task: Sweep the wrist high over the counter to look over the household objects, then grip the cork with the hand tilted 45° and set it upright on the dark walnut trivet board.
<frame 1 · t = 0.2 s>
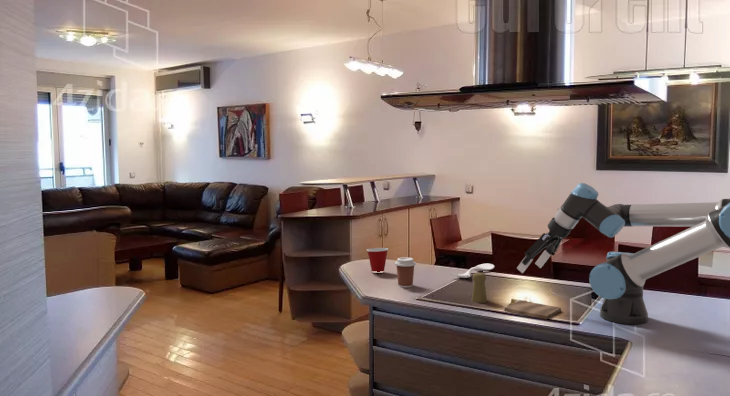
hand: (529, 268, 198), 16 cm above the counter, tool tilted 35°, fingers open, 13 cm apart
plastic cup: (377, 273, 266), on the counter
coffee cup: (405, 286, 240), on the counter
cork: (479, 301, 214), on the counter
spoon: (474, 274, 261), on the counter
walnut trivet: (532, 310, 200), on the counter
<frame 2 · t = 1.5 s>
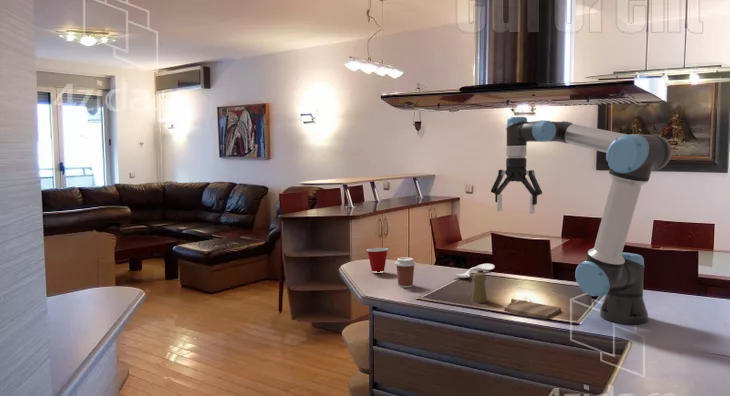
hand: (515, 212, 212), 35 cm above the counter, tool pointing down, fingers open, 13 cm apart
nothing on the counter moved.
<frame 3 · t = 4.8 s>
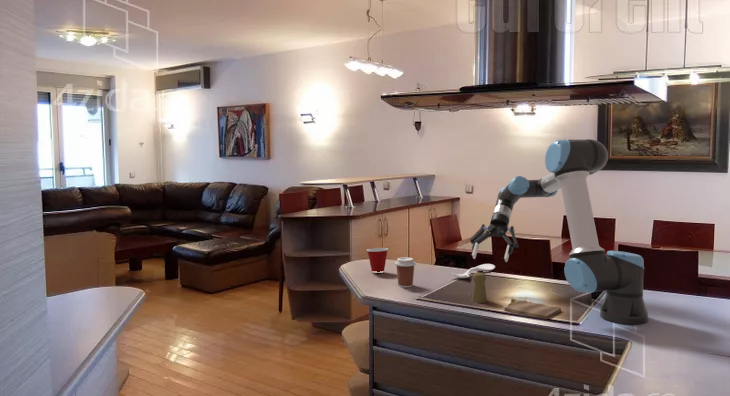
hand: (489, 258, 223), 15 cm above the counter, tool tilted 45°, fingers open, 13 cm apart
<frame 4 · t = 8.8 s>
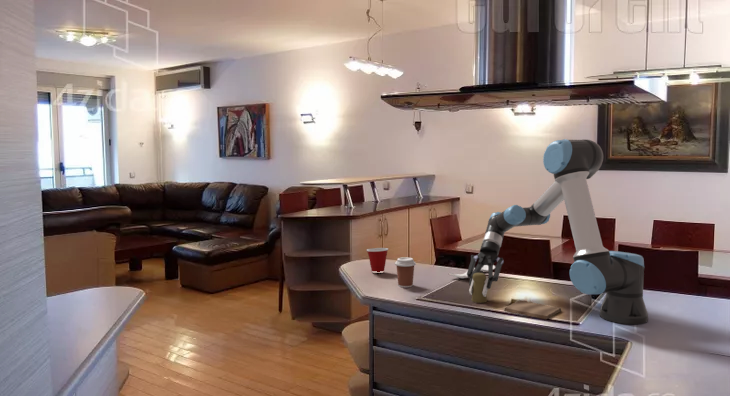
hand: (477, 293, 212), 3 cm above the counter, tool tilted 45°, fingers closed on cork, 5 cm apart
cork: (479, 301, 215), on the counter, touching gripper
when the fingers open (6 cm above the counter, at t = 14.2 s): cork drops 1 cm, resting on walnut trivet.
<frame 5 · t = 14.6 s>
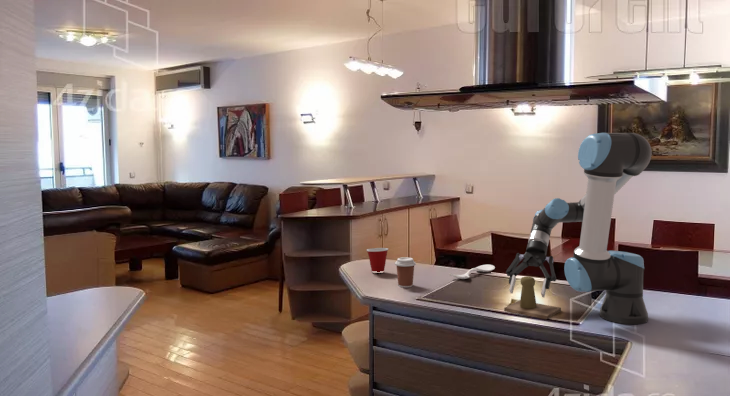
hand: (526, 293, 200), 6 cm above the counter, tool tilted 45°, fingers open, 11 cm apart
cork: (528, 306, 201), point 1 cm above the counter, touching walnut trivet
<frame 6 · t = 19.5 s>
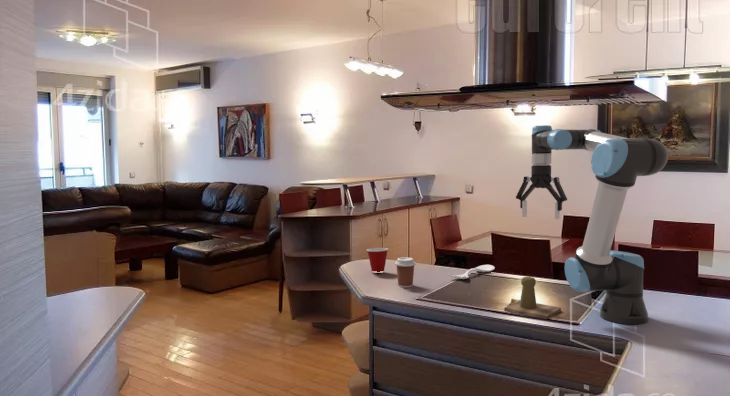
hand: (540, 217, 218), 32 cm above the counter, tool pointing down, fingers open, 13 cm apart
at the end: cork inside the target area on the walnut trivet (1.9 cm from its centre), point 1.0 cm above the walnut trivet's base; cork tilted 0°; the gripper is holding nothing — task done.
